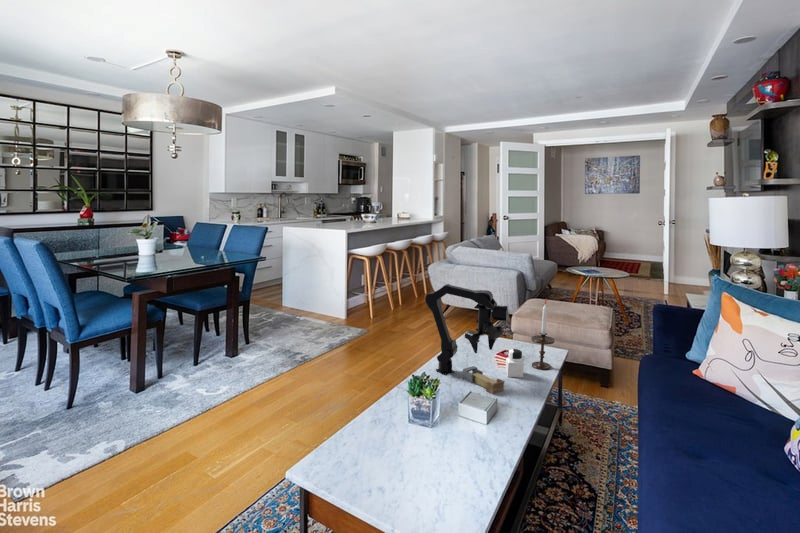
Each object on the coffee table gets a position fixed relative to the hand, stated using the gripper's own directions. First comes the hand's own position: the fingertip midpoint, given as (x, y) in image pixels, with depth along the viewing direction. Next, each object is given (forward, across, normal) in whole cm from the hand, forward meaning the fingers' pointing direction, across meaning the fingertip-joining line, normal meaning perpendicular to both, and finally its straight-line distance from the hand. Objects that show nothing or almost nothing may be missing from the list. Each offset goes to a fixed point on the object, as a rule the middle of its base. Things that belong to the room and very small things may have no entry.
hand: (483, 351), depth 201 cm
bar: (+13, -5, -7) cm, 15 cm away
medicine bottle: (+13, +16, -5) cm, 21 cm away
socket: (+13, -5, -13) cm, 19 cm away
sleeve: (+13, -5, +1) cm, 14 cm away
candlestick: (+13, +35, -5) cm, 38 cm away
